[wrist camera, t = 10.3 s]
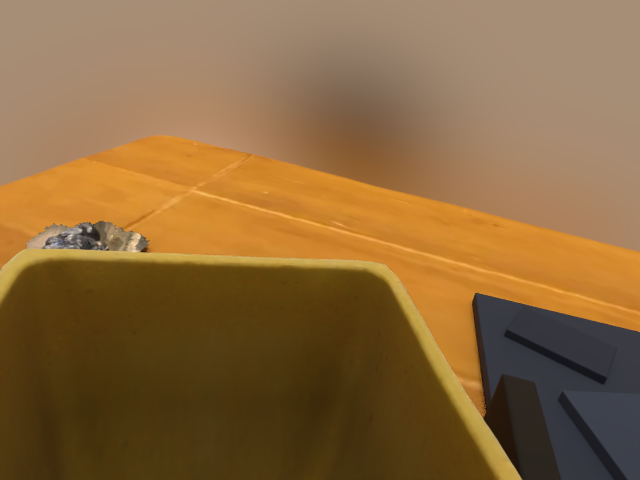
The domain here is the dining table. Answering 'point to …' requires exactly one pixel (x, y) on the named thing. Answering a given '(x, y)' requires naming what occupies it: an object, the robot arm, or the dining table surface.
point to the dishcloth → (569, 382)
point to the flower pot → (226, 373)
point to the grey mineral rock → (88, 238)
